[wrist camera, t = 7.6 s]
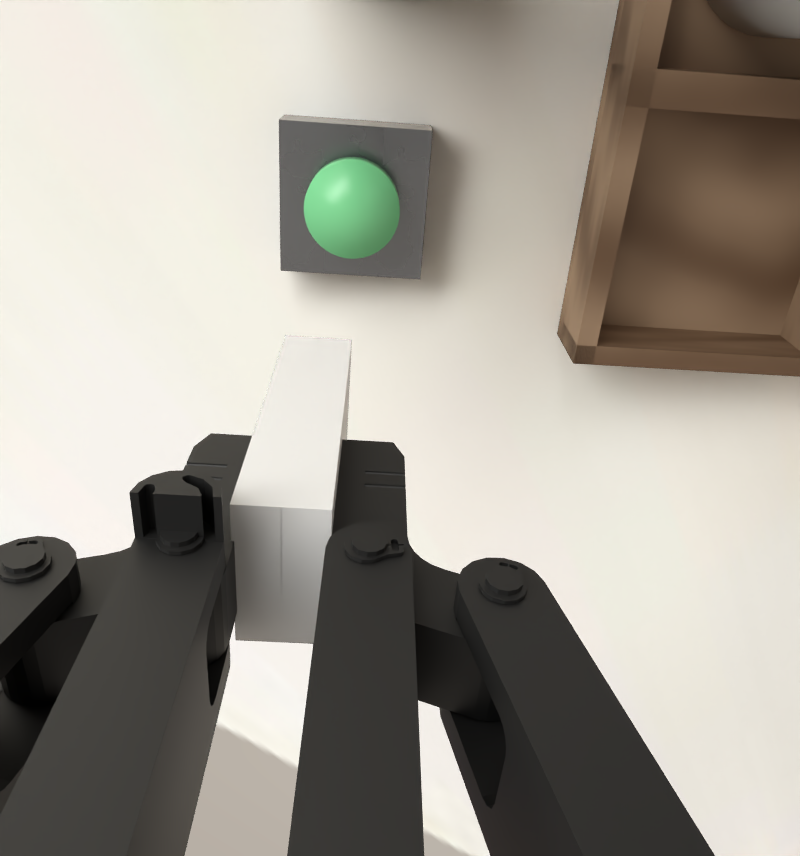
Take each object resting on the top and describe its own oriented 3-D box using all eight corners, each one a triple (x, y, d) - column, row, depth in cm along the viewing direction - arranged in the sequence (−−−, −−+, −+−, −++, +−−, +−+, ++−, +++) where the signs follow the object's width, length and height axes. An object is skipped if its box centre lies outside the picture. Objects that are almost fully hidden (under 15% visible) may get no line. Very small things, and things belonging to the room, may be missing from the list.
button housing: (284, 114, 34) (278, 119, 33) (430, 125, 35) (432, 130, 33) (285, 259, 38) (280, 270, 36) (418, 267, 38) (420, 279, 36)
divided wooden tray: (672, -286, 28) (714, -331, 24) (997, -254, 28) (1083, -293, 25) (557, 333, 40) (573, 363, 37) (784, 347, 41) (821, 377, 37)
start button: (310, 146, 35) (303, 157, 32) (401, 153, 35) (403, 164, 32) (310, 238, 37) (303, 255, 34) (395, 243, 37) (396, 261, 34)
